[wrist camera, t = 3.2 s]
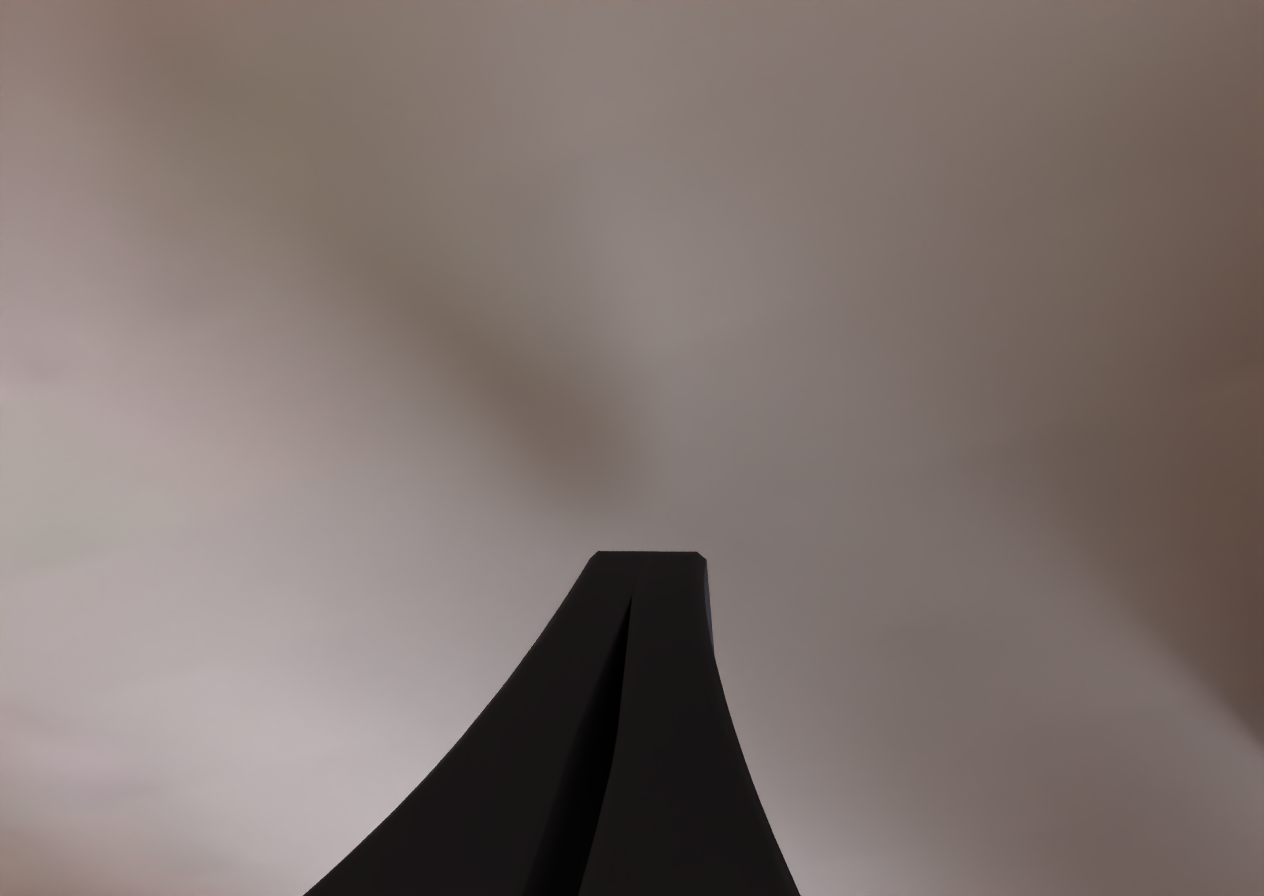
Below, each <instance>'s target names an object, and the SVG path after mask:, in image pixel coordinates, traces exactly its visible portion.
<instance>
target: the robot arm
mask: <svg viewBox="0 0 1264 896" xmlns="http://www.w3.org/2000/svg"><path fill="white" fill-rule="evenodd" d="M303 896H801V895H800V893H799V891H798V889H797V887H796V884H795V882H794V880H793V878H792V875H791V873H790V871H789V869H788V866H787V864H786V862H785V859H784V857H783V855H782V853H781V850H780V848H779V846H778V844H777V841H776V839H775V837H774V834H773V832H772V829H771V827H770V824H769V822H768V819H767V817H766V814H765V812H764V809H763V807H762V805H761V802H760V799H759V797H758V794H757V792H756V789H755V786H754V784H753V781H752V778H751V775H750V773H749V770H748V767H747V764H746V762H745V759H744V756H743V753H742V750H741V747H740V744H739V741H738V738H737V735H736V732H735V729H734V726H733V723H732V719H731V716H730V713H729V709H728V706H727V703H726V699H725V695H724V691H723V688H722V684H721V680H720V676H719V672H718V668H717V664H716V660H715V655H714V644H713V632H712V620H711V608H710V596H709V584H708V572H707V560H706V559H705V558H704V557H703V556H701V555H700V554H699V553H698V552H658V551H598V552H597V553H595V554H594V555H593V556H592V557H591V558H590V559H589V561H588V563H587V564H586V566H585V568H584V569H583V571H582V573H581V574H580V576H579V577H578V579H577V581H576V582H575V584H574V585H573V587H572V589H571V590H570V592H569V593H568V595H567V596H566V598H565V599H564V601H563V602H562V604H561V605H560V607H559V608H558V610H557V611H556V613H555V614H554V616H553V617H552V619H551V620H550V622H549V623H548V625H547V626H546V628H545V629H544V631H543V632H542V633H541V635H540V636H539V638H538V639H537V640H536V642H535V643H534V644H533V646H532V647H531V649H530V650H529V651H528V653H527V654H526V655H525V657H524V658H523V660H522V661H521V662H520V664H519V665H518V666H517V668H516V669H515V671H514V672H513V673H512V675H511V676H510V677H509V679H508V680H507V681H506V683H505V684H504V685H503V687H502V688H501V689H500V690H499V692H498V693H497V694H496V695H495V697H494V698H493V699H492V700H491V701H490V703H489V704H488V705H487V706H486V708H485V709H484V710H483V711H482V712H481V714H480V715H479V716H478V717H477V719H476V720H475V721H474V722H473V724H472V725H471V726H470V727H469V728H468V730H467V731H466V732H465V733H464V735H463V736H462V737H461V738H460V739H459V741H458V742H457V743H456V744H455V745H454V746H453V748H452V749H451V750H450V751H449V752H448V753H447V754H446V755H445V757H444V758H443V759H442V760H441V761H440V762H439V763H438V764H437V766H436V767H435V768H434V769H433V770H432V771H431V772H430V773H429V774H428V775H427V776H426V778H425V779H424V780H423V781H422V782H421V783H420V784H419V785H418V786H417V787H416V788H415V789H414V790H413V791H412V792H411V793H410V794H409V795H408V797H407V798H406V799H405V800H404V801H403V802H402V803H401V804H400V805H399V806H398V807H397V808H396V809H395V810H394V811H393V812H392V813H391V814H390V815H389V816H388V817H387V818H386V819H385V820H384V821H383V822H382V823H381V824H380V825H379V826H378V827H377V828H376V829H374V830H373V831H372V832H371V833H370V834H369V835H368V836H367V837H366V838H365V839H364V840H363V841H362V842H361V843H360V844H359V845H358V846H357V847H356V848H355V849H354V850H353V851H352V852H351V853H350V854H348V855H347V856H346V857H345V858H344V859H343V860H342V861H341V862H340V863H339V864H338V865H337V866H336V867H334V868H333V869H332V870H331V871H330V872H329V873H328V874H327V875H326V876H325V877H323V878H322V879H321V880H320V881H319V882H318V883H317V884H316V885H314V886H313V887H312V888H311V889H310V890H309V891H308V892H307V893H305V894H304V895H303Z"/></svg>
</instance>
